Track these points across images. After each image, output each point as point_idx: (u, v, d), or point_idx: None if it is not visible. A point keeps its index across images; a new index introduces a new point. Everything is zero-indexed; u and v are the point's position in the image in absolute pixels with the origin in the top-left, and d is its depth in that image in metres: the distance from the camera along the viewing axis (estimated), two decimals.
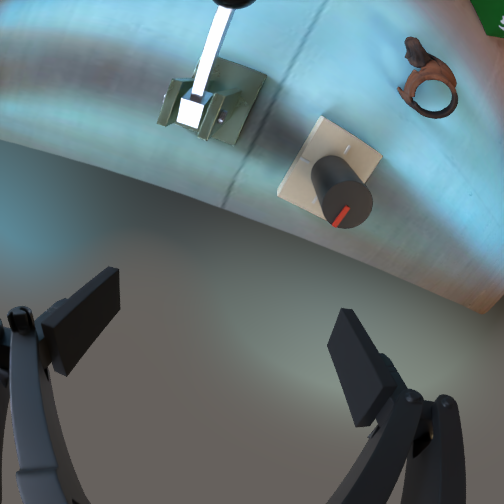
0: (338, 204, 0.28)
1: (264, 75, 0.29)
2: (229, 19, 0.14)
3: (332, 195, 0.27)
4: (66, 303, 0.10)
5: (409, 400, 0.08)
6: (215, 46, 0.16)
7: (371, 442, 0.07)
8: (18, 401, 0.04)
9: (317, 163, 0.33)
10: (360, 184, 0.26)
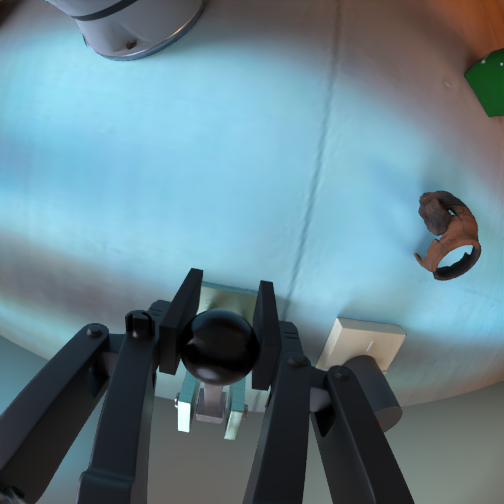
0: None
1: None
2: None
3: None
4: (174, 304, 0.12)
5: (294, 364, 0.10)
6: (218, 391, 0.15)
7: (267, 413, 0.08)
8: (113, 404, 0.06)
9: None
10: (389, 408, 0.22)
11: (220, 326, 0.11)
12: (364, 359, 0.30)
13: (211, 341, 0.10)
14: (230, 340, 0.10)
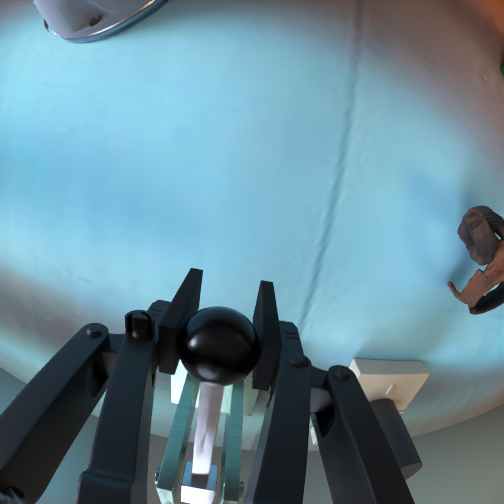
0: None
1: None
2: (222, 396, 0.11)
3: None
4: (173, 304, 0.12)
5: (294, 364, 0.10)
6: (212, 433, 0.11)
7: (267, 413, 0.08)
8: (113, 404, 0.06)
9: None
10: (410, 465, 0.15)
11: (223, 308, 0.11)
12: (382, 404, 0.23)
13: (215, 316, 0.10)
14: (234, 317, 0.11)
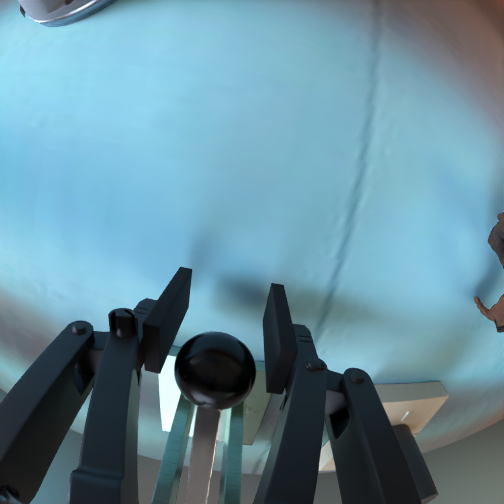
0: None
1: None
2: (218, 425, 0.10)
3: None
4: (159, 303, 0.12)
5: (310, 368, 0.10)
6: (208, 468, 0.09)
7: (282, 416, 0.08)
8: (99, 403, 0.06)
9: None
10: (426, 497, 0.10)
11: (220, 332, 0.11)
12: (397, 431, 0.18)
13: (213, 336, 0.11)
14: (230, 338, 0.11)
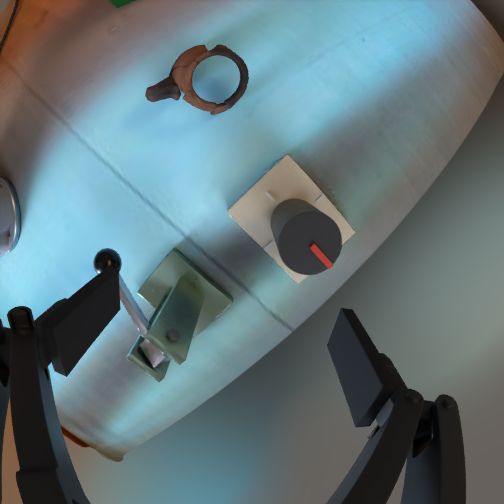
0: (305, 255, 0.24)
1: (171, 252, 0.35)
2: None
3: (291, 259, 0.24)
4: (66, 303, 0.10)
5: (409, 400, 0.08)
6: (124, 296, 0.27)
7: (371, 442, 0.07)
8: (18, 401, 0.04)
9: None
10: (288, 223, 0.23)
11: None
12: (275, 209, 0.31)
13: None
14: None
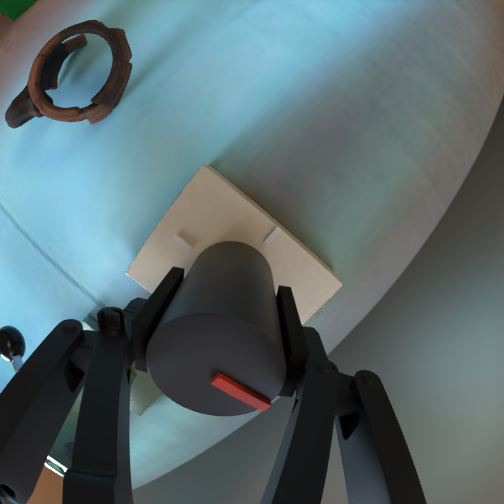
0: (208, 391, 0.10)
1: (83, 323, 0.22)
2: (17, 364, 0.15)
3: (183, 396, 0.10)
4: (149, 302, 0.12)
5: (321, 371, 0.09)
6: None
7: (292, 418, 0.08)
8: (90, 401, 0.06)
9: None
10: (153, 339, 0.10)
11: None
12: None
13: None
14: None
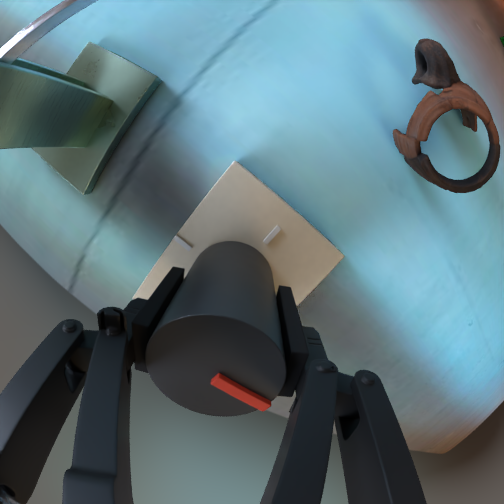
0: (208, 391, 0.10)
1: (153, 77, 0.16)
2: None
3: (183, 397, 0.10)
4: (149, 302, 0.12)
5: (321, 370, 0.09)
6: (66, 4, 0.06)
7: (292, 418, 0.08)
8: (90, 401, 0.06)
9: None
10: (153, 340, 0.09)
11: None
12: None
13: None
14: None
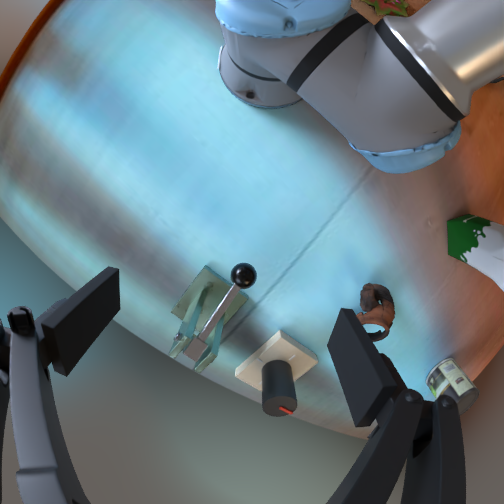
0: (277, 410, 0.40)
1: (246, 299, 0.45)
2: None
3: (270, 412, 0.40)
4: (66, 303, 0.10)
5: (409, 400, 0.08)
6: (225, 308, 0.36)
7: (371, 442, 0.07)
8: (18, 401, 0.04)
9: None
10: (266, 401, 0.39)
11: None
12: (263, 368, 0.47)
13: (249, 264, 0.37)
14: (253, 267, 0.38)
